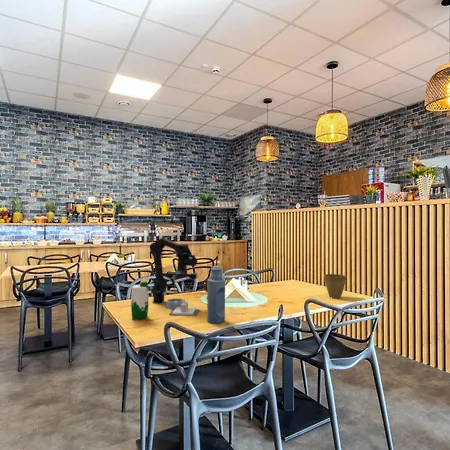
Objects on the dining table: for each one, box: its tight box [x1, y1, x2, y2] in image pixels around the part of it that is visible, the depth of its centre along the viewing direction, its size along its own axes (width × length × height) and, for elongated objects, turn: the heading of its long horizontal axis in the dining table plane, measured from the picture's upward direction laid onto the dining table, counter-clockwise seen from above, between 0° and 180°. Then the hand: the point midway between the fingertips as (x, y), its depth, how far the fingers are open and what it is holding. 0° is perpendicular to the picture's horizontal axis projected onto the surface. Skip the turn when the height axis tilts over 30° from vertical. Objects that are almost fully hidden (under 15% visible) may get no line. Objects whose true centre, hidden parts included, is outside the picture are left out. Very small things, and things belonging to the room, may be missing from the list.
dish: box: [165, 297, 186, 310], centre depth 212 cm, size 11×11×4 cm
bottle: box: [206, 265, 226, 325], centre depth 182 cm, size 10×10×30 cm
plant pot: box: [323, 273, 347, 299], centre depth 241 cm, size 15×15×16 cm
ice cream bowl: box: [202, 276, 211, 293], centre depth 235 cm, size 11×11×15 cm
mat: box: [169, 308, 200, 317], centre depth 199 cm, size 16×12×1 cm
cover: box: [172, 301, 197, 316], centre depth 199 cm, size 12×12×5 cm
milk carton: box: [130, 281, 149, 321], centre depth 187 cm, size 9×9×20 cm
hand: (181, 289), depth 211 cm, fingers open, 9 cm apart
